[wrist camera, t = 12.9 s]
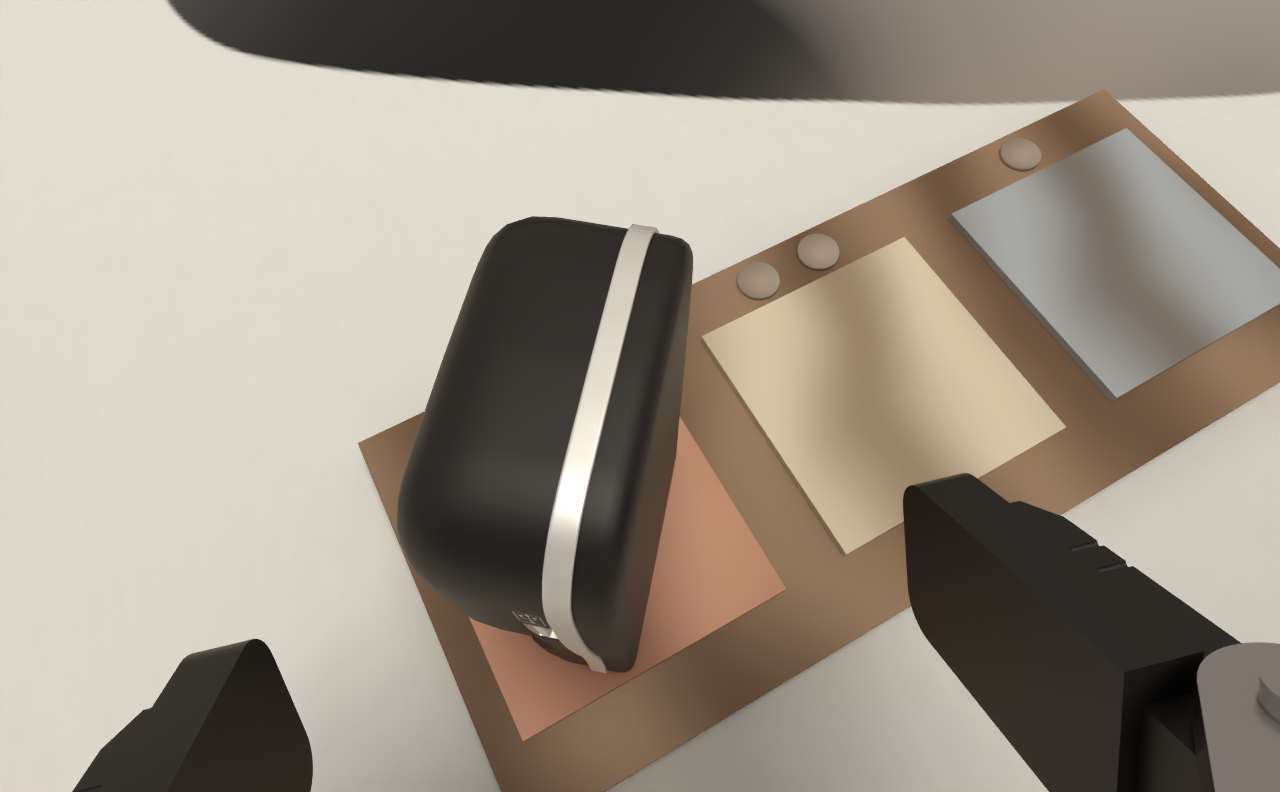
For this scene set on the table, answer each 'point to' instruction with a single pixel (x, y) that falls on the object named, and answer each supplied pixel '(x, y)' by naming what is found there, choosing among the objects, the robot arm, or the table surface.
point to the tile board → (889, 420)
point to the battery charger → (554, 436)
